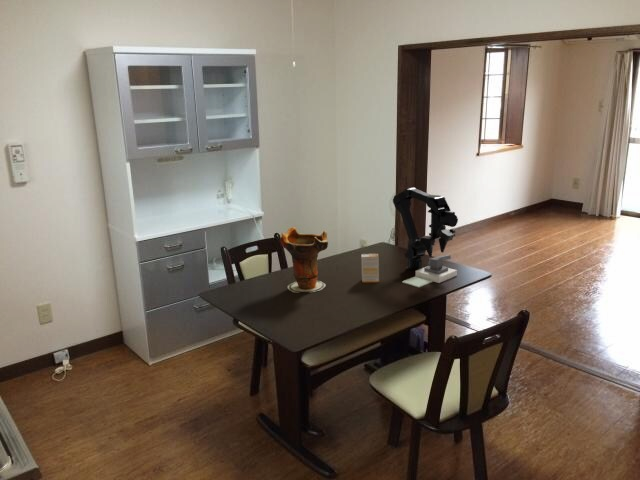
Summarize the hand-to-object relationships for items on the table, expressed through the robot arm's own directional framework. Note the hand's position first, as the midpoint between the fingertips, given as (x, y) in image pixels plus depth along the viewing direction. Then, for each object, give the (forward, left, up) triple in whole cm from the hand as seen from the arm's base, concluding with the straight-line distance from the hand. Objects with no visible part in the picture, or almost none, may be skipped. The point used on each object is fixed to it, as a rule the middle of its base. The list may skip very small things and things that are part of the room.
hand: (436, 254), depth 260 cm
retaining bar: (-4, +8, -8) cm, 12 cm away
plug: (0, 0, -11) cm, 11 cm away
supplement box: (-19, -26, -11) cm, 34 cm away
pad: (-1, -13, -11) cm, 17 cm away
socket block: (0, 0, -11) cm, 11 cm away
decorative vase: (-36, -52, -11) cm, 64 cm away
